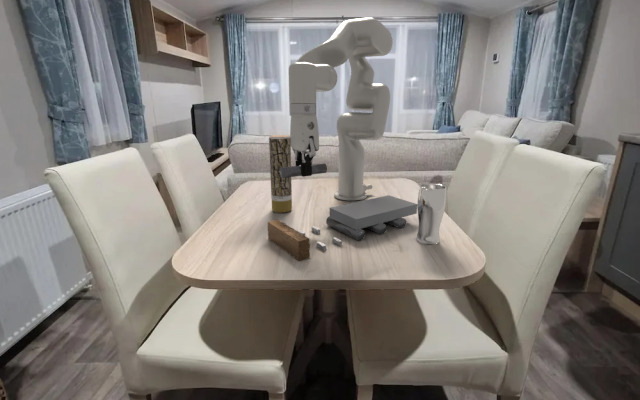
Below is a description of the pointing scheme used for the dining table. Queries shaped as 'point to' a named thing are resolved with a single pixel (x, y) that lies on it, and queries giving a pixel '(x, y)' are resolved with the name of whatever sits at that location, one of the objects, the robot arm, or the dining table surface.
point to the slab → (372, 211)
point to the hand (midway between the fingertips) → (303, 174)
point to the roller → (296, 170)
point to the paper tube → (279, 186)
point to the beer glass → (430, 212)
